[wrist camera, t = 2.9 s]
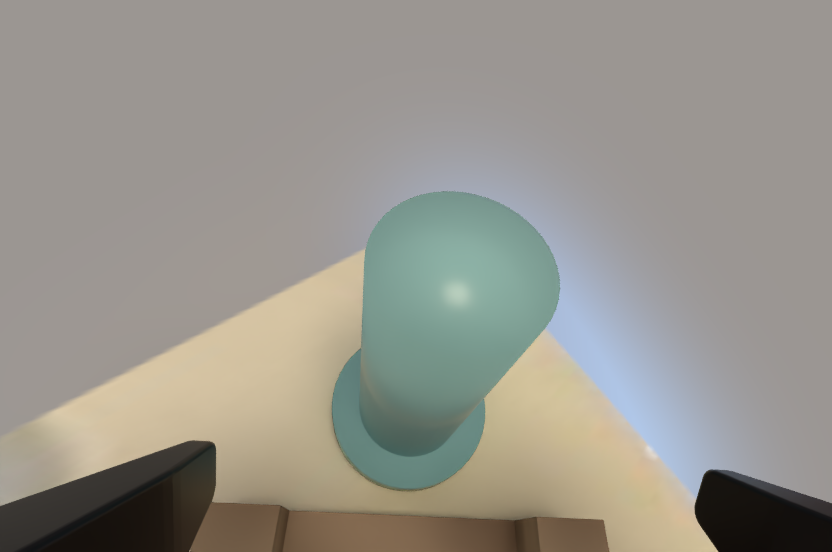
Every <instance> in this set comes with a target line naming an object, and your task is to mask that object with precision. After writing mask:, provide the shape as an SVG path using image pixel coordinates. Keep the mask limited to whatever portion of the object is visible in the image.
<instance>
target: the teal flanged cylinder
mask: <svg viewBox="0 0 832 552" xmlns="http://www.w3.org/2000/svg"><path fill="white" fill-rule="evenodd" d="M559 292H560V279H559V273H558V268H557V265H556V262H555V259H554V257H553V254H552V252H551V250H550V248H549V246H548V245H547V244H546V242H545V240H544V239H543V237H542V236H541V235H540V234H539V233H538V231H537V230H536V229H535V228H534V227H533V226H532V225H531V224H530V223H529V222H528V221H527V220H525V219H524V218H523V217H522V216H520V215H519V214H518V213H516V212H514V211H513V210H511V209H510V208H508V207H506V206H504V205H502V204H500V203H498V202H496V201H494V200H491V199H489V198H485V197H482V196H479V195H475V194H469V193H463V192H444V191H443V192H433V193H428V194H423V195H419V196H416V197H413V198H410V199H408V200H406V201H404V202H402V203H400V204H399V205H397V206H396V207H394V208H392V209H391V210H390V211H389V212H388V213H386V214H385V215H384V216H383V217H382V219H381V220H380V221H379V222H378V223H377V225H376V226H375V228H374V229H373V231H372V233H371V235H370V238H369V240H368V243H367V247H366V250H365V260H364V285H363V313H362V341H361V349H360V350H358V351H357V352H356V353H355V354H354V355H353V356H352V357H351V358H350V359H349V361H348V362H347V363H346V365H345V366H344V368H343V370H342V371H341V373H340V375H339V377H338V380H337V382H336V385H335V389H334V393H333V401H332V416H333V424H334V430H335V434H336V437H337V441H338V443H339V446H340V448H341V450H342V452H343V454H344V455H345V457H346V459H347V460H348V461H349V462H350V464H351V465H352V466H353V467H354V468H355V469H356V470H357V471H358V472H359V473H360V474H361V475H362V476H364V477H365V478H367V479H368V480H369V481H371V482H373V483H375V484H377V485H379V486H382V487H385V488H388V489H392V490H398V491H417V490H423V489H426V488H430V487H433V486H435V485H437V484H440V483H441V482H443V481H445V480H446V479H448V478H449V477H451V476H452V475H453V474H455V473H456V472H457V471H458V470H459V469H461V468H462V467H463V466H464V465H465V464H466V462H467V461H468V460H469V459H470V457H471V456H472V454H473V453H474V451H475V450H476V448H477V446H478V444H479V441H480V438H481V435H482V432H483V427H484V422H485V403H484V398H485V397H486V395H487V394H488V393H489V392H490V391H491V390H492V388H493V387H494V386H495V385H496V384H497V383H498V382H499V380H500V379H501V378H502V377H503V376H504V375H505V374H506V372H507V371H508V370H509V369H510V368H511V367H512V366H513V364H514V363H515V362H516V361H517V360H518V359H519V358H520V356H521V355H522V354H523V353H524V352H525V351H526V350H527V348H528V347H529V346H530V345H531V344H532V343H533V341H534V340H535V339H536V338H537V337H538V336H539V335H540V333H541V332H542V331H543V330H544V329H545V328H546V326H547V325H548V323H549V322H550V320H551V319H552V317H553V314H554V312H555V310H556V307H557V304H558V300H559Z"/></svg>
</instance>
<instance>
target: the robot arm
mask: <svg viewBox="0 0 832 552" xmlns="http://www.w3.org/2000/svg"><path fill="white" fill-rule="evenodd" d="M215 486H216V447H215V444H214V443H213V442H210V441H195V440H193V441H187V442H184V443H181V444H178V445H176V446H173V447H170V448H167V449H164V450H161V451H158V452H155V453H152V454H149V455H147V456H144V457H141V458H138V459H135V460H132V461H129V462H126V463H123V464H121V465H118V466H115V467H112V468H109V469H106V470H103V471H100V472H97V473H95V474H92V475H89V476H86V477H83V478H80V479H77V480H74V481H71V482H69V483H66V484H63V485H60V486H57V487H54V488H51V489H48V490H45V491H43V492H40V493H37V494H34V495H31V496H28V497H25V498H22V499H19V500H17V501H14V502H11V503H8V504H5V505H2V506H0V552H189V550H190V548H191V546H192V544H193V542H194V539H195V537H196V535H197V533H198V530H199V528H200V526H201V524H202V522H203V519H204V517H205V515H206V513H207V511H208V508H209V506H210V504H211V502H212V499H213V496H214V492H215ZM695 515H696V518H697V521H698V523H699V525H700V526H701V527H702V529H703V530H704V532H705V533H706V535H707V536H708V537H709V539H710V540H711V542H712V543H713V545H714V546H715V547H716V549H717V550H718V552H832V503H829V502H826V501H823V500H820V499H817V498H814V497H810V496H807V495H804V494H801V493H798V492H795V491H792V490H789V489H786V488H782V487H779V486H776V485H773V484H770V483H767V482H764V481H761V480H758V479H755V478H752V477H748V476H745V475H742V474H739V473H736V472H733V471H728V470H708V471H707V472H706V473H705V474H704V476H703V479H702V482H701V486H700V489H699V492H698V496H697V499H696V503H695Z"/></svg>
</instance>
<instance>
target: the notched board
mask: <svg viewBox="0 0 832 552" xmlns="http://www.w3.org/2000/svg"><path fill="white" fill-rule="evenodd" d="M190 552H609V548H608V543H607V537H606V532H605V526H604V521H603V520H593V519H571V518H549V517H533V518H527V519H521V520H515V521H512V520H489V519H467V518H444V517H421V516H398V515H375V514H353V513H330V512H307V511H289V510H287V509H286V508H284V507H282V506H280V505H259V504H237V503H214V502H211V504H210V506H209V508H208V511H207V513H206V515H205V517H204V519H203V522H202V524H201V526H200V528H199V530H198V533H197V535H196V537H195V539H194V542H193V544H192V548H191V551H190Z"/></svg>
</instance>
